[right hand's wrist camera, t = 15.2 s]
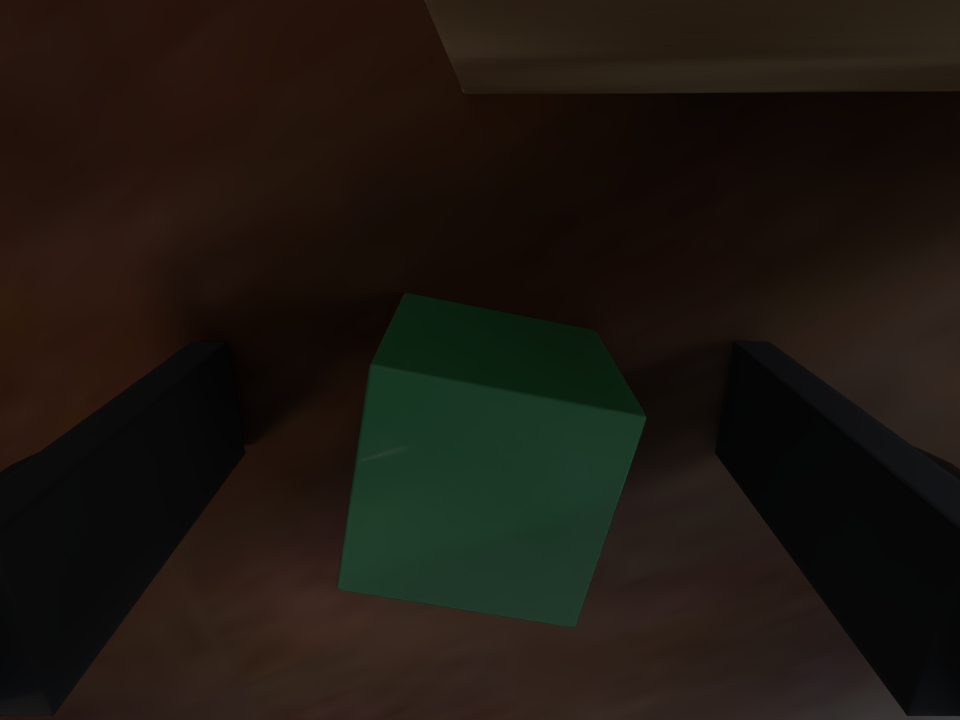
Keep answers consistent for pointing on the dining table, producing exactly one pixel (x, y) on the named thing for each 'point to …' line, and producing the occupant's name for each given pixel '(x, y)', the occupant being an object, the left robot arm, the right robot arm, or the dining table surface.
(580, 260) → the dining table surface
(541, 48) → the chest
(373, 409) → the block
